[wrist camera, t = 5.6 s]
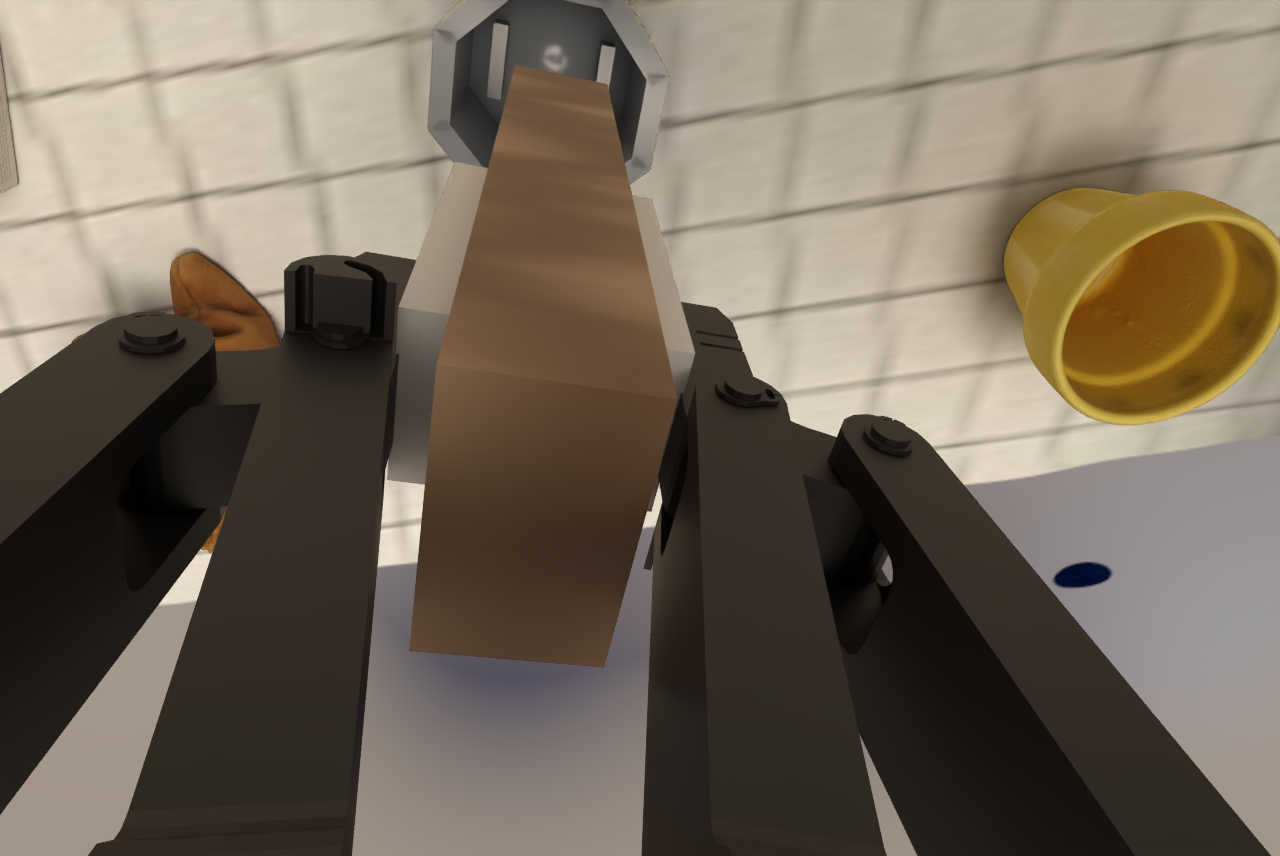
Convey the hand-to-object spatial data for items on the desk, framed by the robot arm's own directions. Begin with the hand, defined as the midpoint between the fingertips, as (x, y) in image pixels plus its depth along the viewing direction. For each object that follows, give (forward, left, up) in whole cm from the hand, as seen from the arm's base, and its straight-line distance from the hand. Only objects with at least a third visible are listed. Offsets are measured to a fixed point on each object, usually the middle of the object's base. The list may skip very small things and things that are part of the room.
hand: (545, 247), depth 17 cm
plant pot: (-28, +5, -25) cm, 38 cm away
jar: (0, +1, -25) cm, 25 cm away
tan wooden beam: (0, 0, -7) cm, 7 cm away
